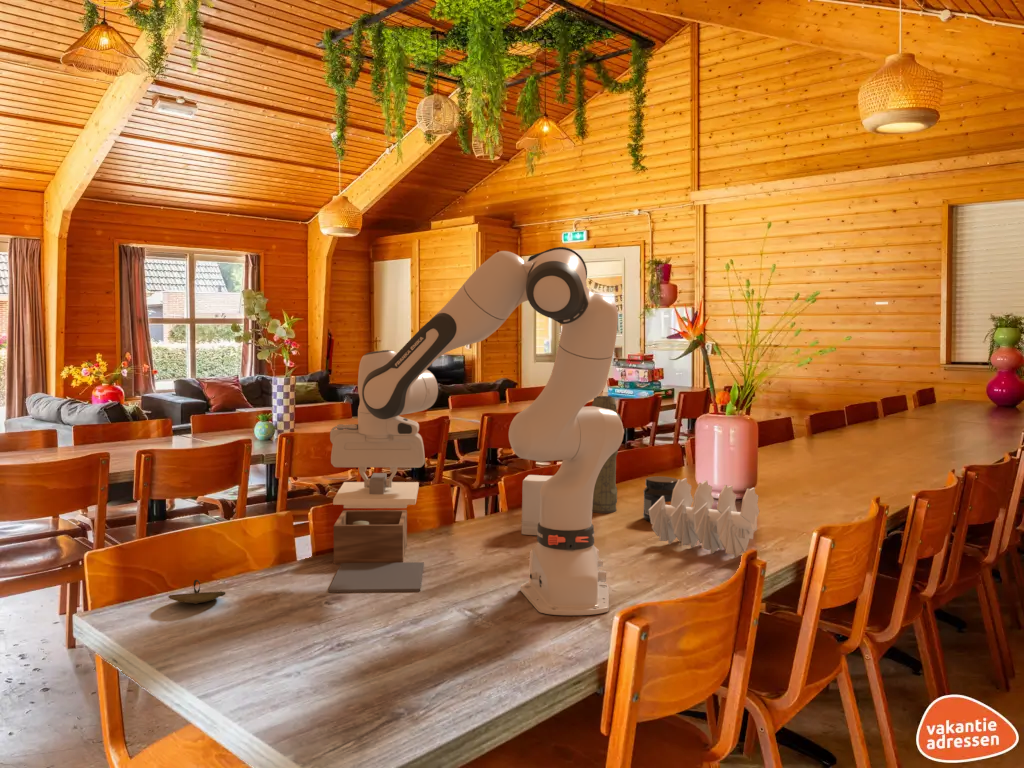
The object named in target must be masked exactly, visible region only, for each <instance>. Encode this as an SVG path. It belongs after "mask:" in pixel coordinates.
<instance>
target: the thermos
mask: <svg viewBox="0 0 1024 768" xmlns="http://www.w3.org/2000/svg"><path fill="white" fill-rule="evenodd" d="M592 400H593V401H592V403H591V406H594V407H600V408H605V409H610V410H613V411H614V412H616V413H617V403H616V401H615V400H616V399H615V397H612V396H611V395H609V396H608V395H598V396H597V397H595V398H594V399H592ZM617 415H618V416H619V418H620V419H621V420H622V417H621V415H620V413H617ZM618 450H619V449H618ZM618 450H617V451H616V452H614V453H613V454H612V455H611V456H610V457H609V458H608V459H607V461H606V462H605V464H604V465H603V467H602V469H601V471H600V473H599V475H598V477H597V480H596V483H595V487H594V493H593V505H592V513H598V514H613V513H615V512H616V511H617V503H618V488H617V484H616V481H617V479H616V478H617V477H616V476H617V474H616V473H617V455H618V454H619V451H618Z"/></svg>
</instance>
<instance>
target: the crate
mask: <svg viewBox="0 0 1024 768" xmlns="http://www.w3.org/2000/svg"><path fill="white" fill-rule="evenodd" d="M407 546H408V510H407V509H376V510H375V509H367V510H366V509H364V510H363V509H361V510H360V509H356V510H355V509H353V510H349V509H347V510H342V512H341V513H340V515H339V517H338V518H337V520H336V522H335V523H334V524H333V565H341V563H400V562H404V559H405V553H406V550H407Z"/></svg>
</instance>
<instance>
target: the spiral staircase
mask: <svg viewBox="0 0 1024 768" xmlns="http://www.w3.org/2000/svg"><path fill="white" fill-rule="evenodd" d="M708 482H709V481H708V480H707V479H705V480H704V481H702V482H699V483H698V485H697V487H696V489H695V492H694V494H693V495H694V496H692V494H691V492H692V485H691V484H690V483H688V478H687V477H685V478H683V479H680V478H679V479H678V481H677V483H676V485H675V487H674V489H673V493H672V499H671V505H665V499H664V496H662V497H661V498H660V499H659V500H658V501H657V502H656V503H655V504H654V505H653V506H652V507H651V508H650V509H649V516H650V521H651V522H650V521H649V522H650V524H651V529H652V530H653V532H654V534H655V535H656V536H657V537H658V541H660V542H661V541H663V542H668V545H671V544H672V543H673V542H674V540H676V539H677V540H678V541H680V543H681V544H680V546H682V547H683V546H690V548H691V549H693V548H694V547H695V546H696V544H697V543H698V542H699V544H701V548H702V549H704V550H707V551H710V554H714V553H715V552H716V551H717V550H718V549H719V550H720V551H722V550H723V549H725V554H729V555H730V554H731V555H734V558H735V557H736V558H735V559H737V558H738V556H740V554H742V552H743V553H745V552H744V551H747V549H748V546H749V543H750V540H754V533H755V532H756V531H758V516H759V513H760V509H759V505H758V503H759V495H758V494H757V493H756V489H755V488H756V487H751V488H746V490H745V493H744V495H743V497H742V500H741V501H742V502H741V506H740V507H741V508H740V511H737V506H736V499H737V494H736V493H735V492H734V491H733V489H734V488H733V485H729V486H728V485H727V484H724V485H723V487H722V489H721V491H720V493H719V495H718V500H717V506H716V509H713V505H714V502H715V499H714V497H713V494H712V492H713V486H712V485H710V484H708Z"/></svg>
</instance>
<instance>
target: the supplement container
mask: <svg viewBox="0 0 1024 768" xmlns="http://www.w3.org/2000/svg"><path fill="white" fill-rule="evenodd" d="M677 481H678V479H677V478H675V477H670V476H647V477H646V478H645V487H644V489H643V513H642V516H643V518H644V520H646V521H648V522H650V523H651V521H650V516H649V509H650V508H651V507H652V506H653V505H654V504H655V503H656V502H657V501H658V500H659V499H660V498H661V497H662V496H664V499H665V505H671V499H672V493H673V489H674V487H675V485H676V483H677Z"/></svg>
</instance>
